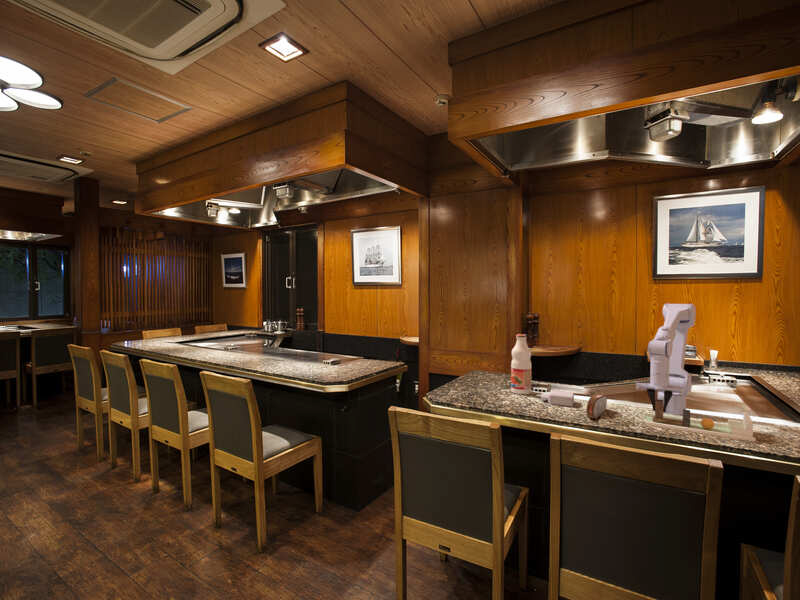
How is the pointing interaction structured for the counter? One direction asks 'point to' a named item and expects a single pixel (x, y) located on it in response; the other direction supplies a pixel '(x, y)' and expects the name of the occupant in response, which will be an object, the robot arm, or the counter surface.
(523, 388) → the fruit juice
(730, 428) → the pitch
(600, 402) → the tin
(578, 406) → the counter surface
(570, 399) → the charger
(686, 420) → the striker
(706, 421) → the ball
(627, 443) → the counter surface
